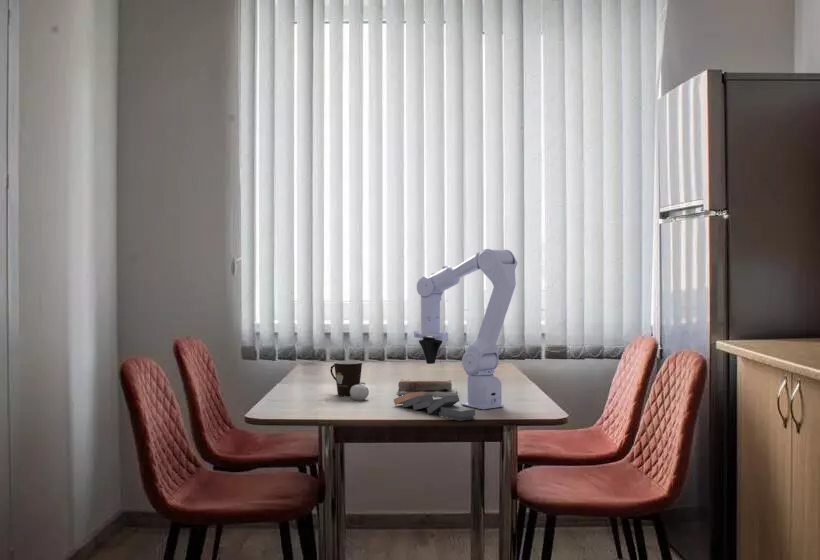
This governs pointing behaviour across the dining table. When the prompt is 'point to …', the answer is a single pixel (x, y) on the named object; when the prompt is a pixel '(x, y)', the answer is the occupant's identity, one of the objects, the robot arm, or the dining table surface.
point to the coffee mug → (346, 375)
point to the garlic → (359, 391)
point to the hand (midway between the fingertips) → (430, 363)
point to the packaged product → (426, 387)
